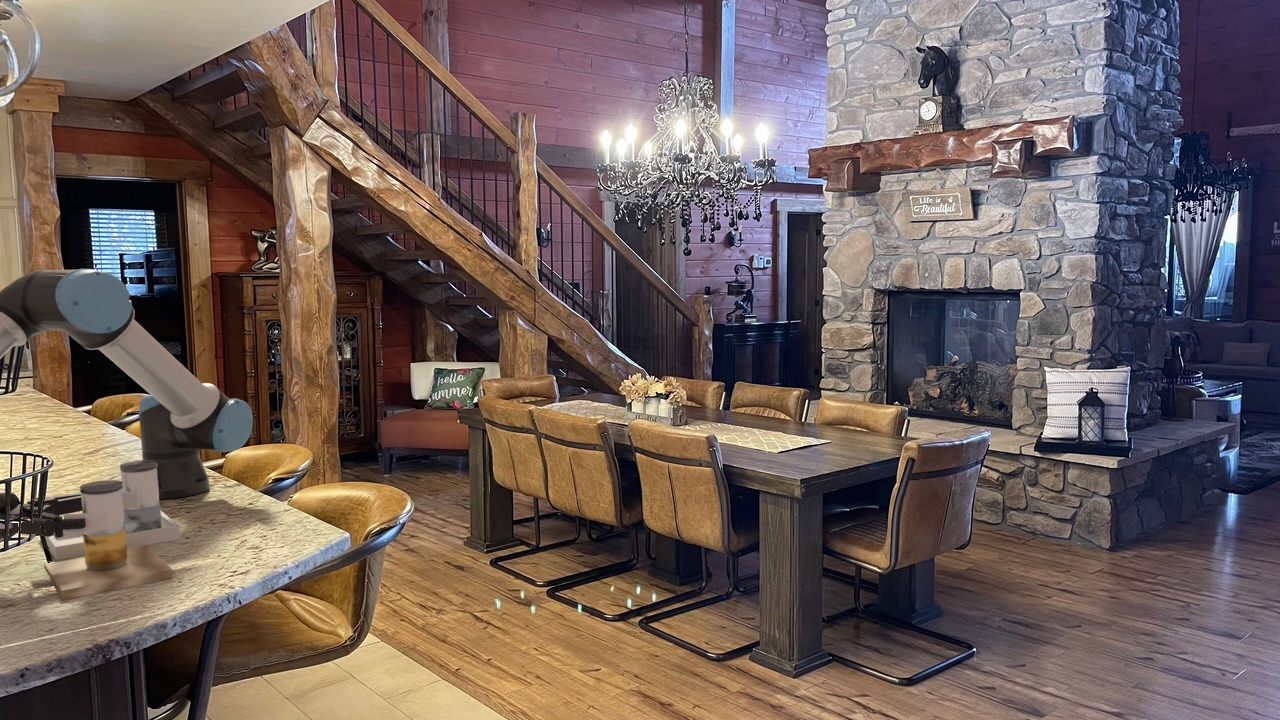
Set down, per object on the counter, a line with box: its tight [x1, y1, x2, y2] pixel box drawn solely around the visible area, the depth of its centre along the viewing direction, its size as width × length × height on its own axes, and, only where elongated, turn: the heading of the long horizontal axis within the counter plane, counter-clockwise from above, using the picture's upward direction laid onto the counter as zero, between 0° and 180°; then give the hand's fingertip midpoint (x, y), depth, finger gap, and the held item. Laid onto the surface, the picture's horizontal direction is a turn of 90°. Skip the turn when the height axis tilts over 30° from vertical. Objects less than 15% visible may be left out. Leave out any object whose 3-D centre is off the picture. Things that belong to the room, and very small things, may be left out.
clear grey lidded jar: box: [119, 459, 162, 534], centre depth 180 cm, size 6×6×14 cm
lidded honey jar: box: [79, 479, 128, 572], centre depth 162 cm, size 6×6×14 cm
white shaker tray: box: [44, 510, 181, 561], centre depth 180 cm, size 20×18×4 cm
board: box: [43, 545, 174, 601], centre depth 163 cm, size 16×18×2 cm
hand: (124, 509), depth 162 cm, fingers open, 13 cm apart
